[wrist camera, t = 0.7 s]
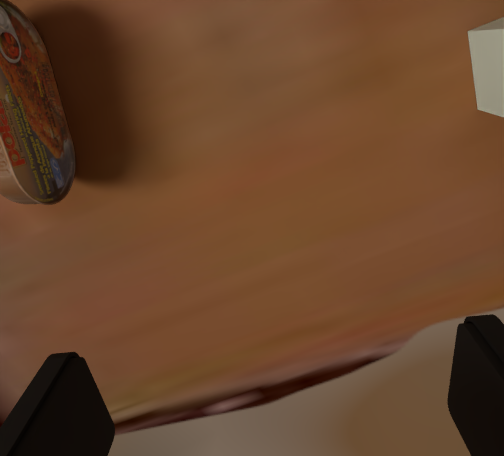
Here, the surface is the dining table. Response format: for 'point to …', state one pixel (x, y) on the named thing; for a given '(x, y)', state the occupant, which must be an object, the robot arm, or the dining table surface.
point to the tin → (31, 117)
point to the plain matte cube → (488, 66)
